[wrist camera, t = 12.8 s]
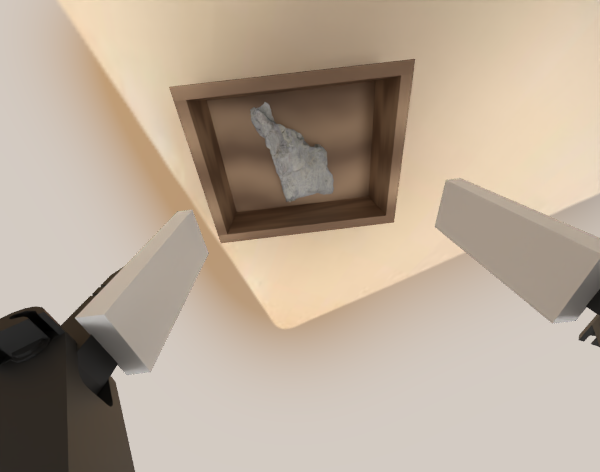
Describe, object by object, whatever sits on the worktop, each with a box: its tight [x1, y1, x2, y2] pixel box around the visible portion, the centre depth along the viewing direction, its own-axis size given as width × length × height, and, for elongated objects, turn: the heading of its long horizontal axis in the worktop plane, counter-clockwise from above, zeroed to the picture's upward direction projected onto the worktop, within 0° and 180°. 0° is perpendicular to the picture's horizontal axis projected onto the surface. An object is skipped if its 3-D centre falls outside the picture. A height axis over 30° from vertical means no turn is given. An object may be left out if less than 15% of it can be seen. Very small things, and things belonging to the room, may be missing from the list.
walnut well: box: [169, 59, 415, 243], centre depth 25 cm, size 15×20×7 cm
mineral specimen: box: [250, 102, 334, 202], centre depth 25 cm, size 6×12×4 cm, turn 21°
